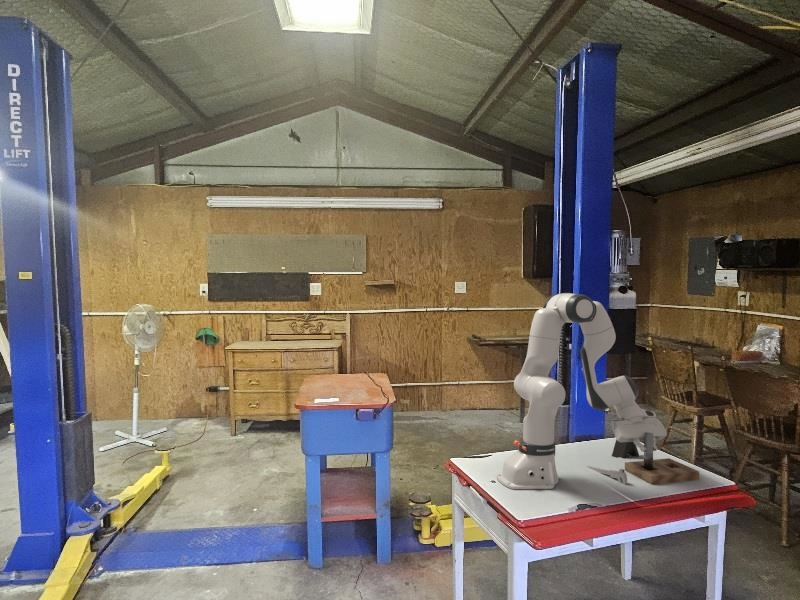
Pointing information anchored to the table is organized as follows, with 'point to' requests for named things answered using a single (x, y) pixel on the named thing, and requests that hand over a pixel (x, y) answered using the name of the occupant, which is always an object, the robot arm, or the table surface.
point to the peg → (648, 451)
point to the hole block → (662, 471)
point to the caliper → (613, 474)
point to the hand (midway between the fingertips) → (649, 450)
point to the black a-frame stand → (624, 449)
